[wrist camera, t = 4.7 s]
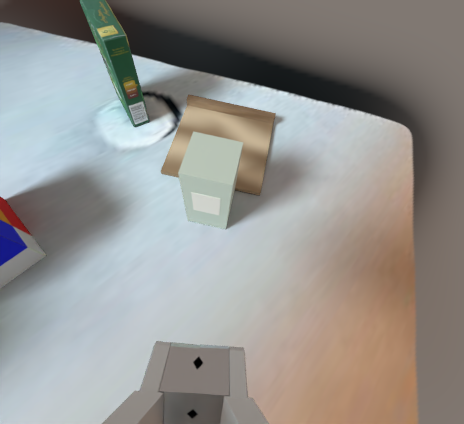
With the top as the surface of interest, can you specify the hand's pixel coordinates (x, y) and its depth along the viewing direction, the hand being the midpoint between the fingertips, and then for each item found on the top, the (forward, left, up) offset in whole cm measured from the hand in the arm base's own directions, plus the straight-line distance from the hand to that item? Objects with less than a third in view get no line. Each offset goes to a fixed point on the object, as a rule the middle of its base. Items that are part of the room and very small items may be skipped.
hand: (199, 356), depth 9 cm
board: (+25, +4, -20) cm, 33 cm away
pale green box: (+15, +3, -20) cm, 25 cm away
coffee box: (+29, +19, -20) cm, 40 cm away
